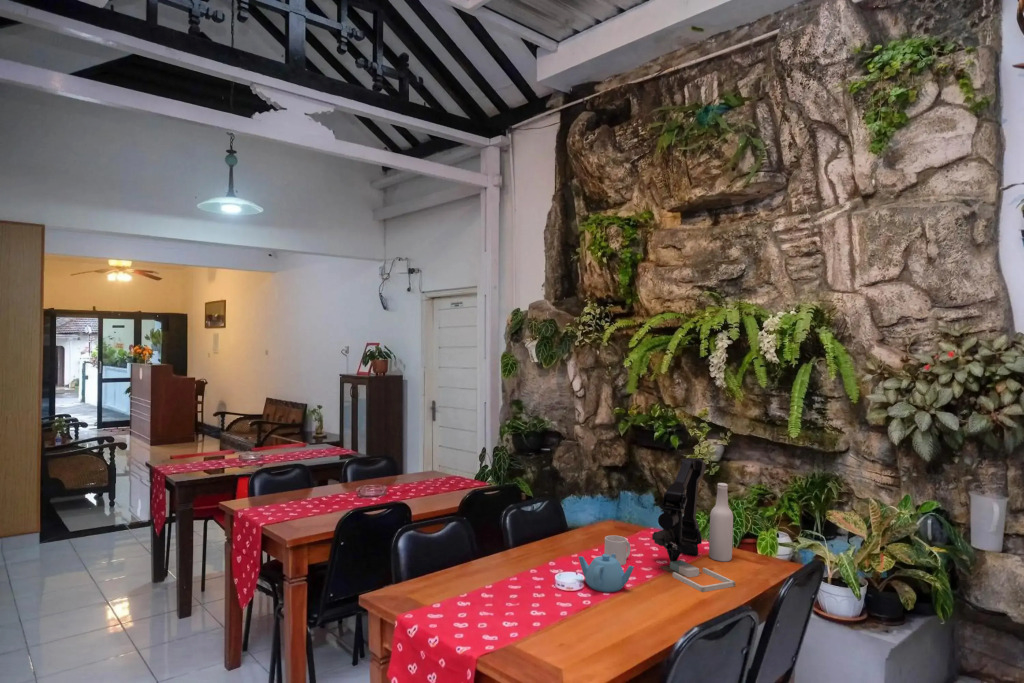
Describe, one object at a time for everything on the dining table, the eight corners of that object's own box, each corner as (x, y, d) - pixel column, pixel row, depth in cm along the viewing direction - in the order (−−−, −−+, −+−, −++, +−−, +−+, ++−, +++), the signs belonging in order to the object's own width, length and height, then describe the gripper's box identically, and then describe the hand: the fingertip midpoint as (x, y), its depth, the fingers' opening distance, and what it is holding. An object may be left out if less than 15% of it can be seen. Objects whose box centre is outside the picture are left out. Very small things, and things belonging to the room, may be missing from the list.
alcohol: (709, 560, 248) (711, 484, 248) (708, 553, 256) (711, 480, 256) (732, 563, 245) (734, 487, 246) (731, 556, 254) (733, 482, 254)
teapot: (575, 579, 222) (576, 549, 222) (613, 576, 226) (614, 546, 227) (594, 596, 207) (595, 563, 207) (634, 592, 212) (635, 560, 212)
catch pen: (672, 581, 223) (672, 572, 224) (704, 575, 230) (704, 567, 230) (702, 596, 210) (702, 587, 210) (735, 590, 216) (735, 581, 217)
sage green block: (669, 568, 232) (669, 561, 232) (680, 566, 235) (680, 560, 235) (678, 572, 228) (678, 565, 228) (689, 571, 230) (689, 564, 230)
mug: (622, 559, 245) (623, 532, 246) (637, 565, 239) (638, 538, 239) (599, 564, 239) (600, 537, 239) (614, 570, 232) (615, 543, 232)
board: (658, 570, 233) (659, 566, 233) (681, 567, 238) (681, 563, 238) (678, 581, 223) (678, 577, 223) (702, 577, 228) (702, 573, 228)
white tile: (678, 572, 228) (679, 565, 228) (689, 571, 230) (689, 564, 230) (688, 577, 223) (688, 570, 223) (698, 575, 226) (699, 568, 226)
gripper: (641, 518, 240) (640, 559, 240) (673, 532, 223) (672, 576, 223) (664, 516, 244) (663, 556, 244) (697, 529, 228) (696, 572, 227)
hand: (672, 564), depth 235 cm, fingers closed
